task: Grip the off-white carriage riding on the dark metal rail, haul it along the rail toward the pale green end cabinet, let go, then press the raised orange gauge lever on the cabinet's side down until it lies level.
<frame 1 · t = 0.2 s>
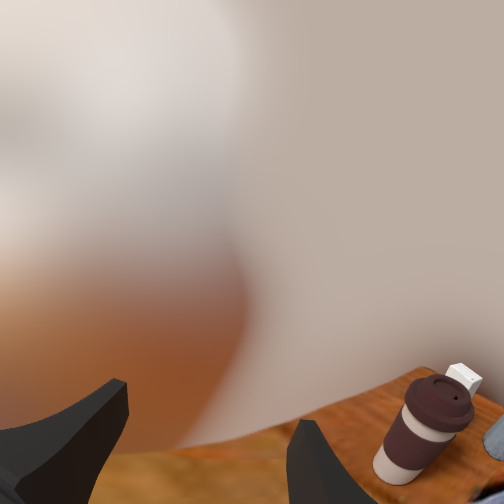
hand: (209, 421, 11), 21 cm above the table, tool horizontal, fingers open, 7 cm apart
skincare box: (433, 426, 39), on the table
coffee cup: (393, 469, 29), on the table
moka pot: (495, 446, 30), on the table
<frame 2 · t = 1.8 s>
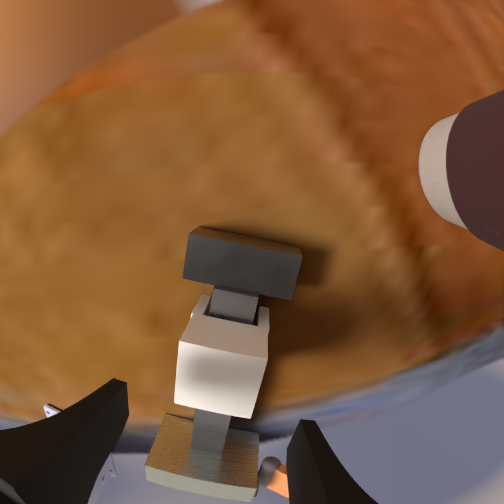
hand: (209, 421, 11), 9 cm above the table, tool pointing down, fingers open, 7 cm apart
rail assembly: (222, 366, 20), on the table
carriage: (224, 352, 16), point 3 cm above the table, slide at 0.0 cm
coffee cup: (455, 170, 16), on the table
gauge lever: (301, 489, 17), point 5 cm above the table, hinge at 30.0°
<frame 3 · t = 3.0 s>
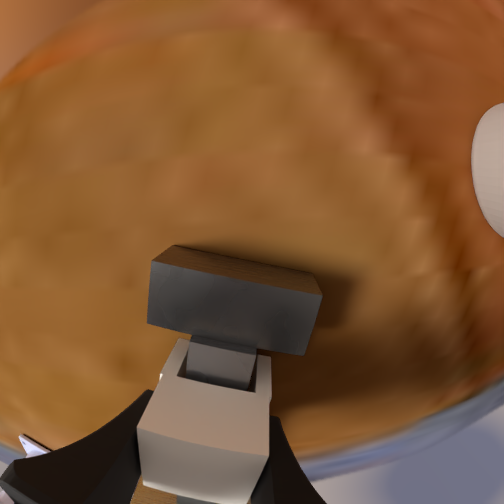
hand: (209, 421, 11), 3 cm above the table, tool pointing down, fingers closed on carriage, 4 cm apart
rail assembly: (211, 419, 15), on the table
carriage: (208, 422, 10), point 3 cm above the table, slide at 0.0 cm, touching gripper
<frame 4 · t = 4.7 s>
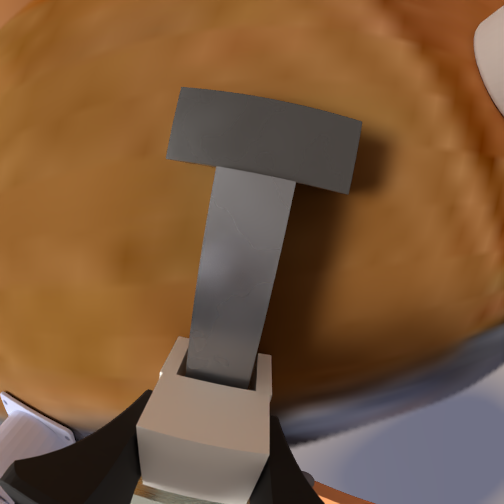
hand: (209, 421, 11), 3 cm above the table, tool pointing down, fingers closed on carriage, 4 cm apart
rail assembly: (227, 332, 13), on the table
carriage: (208, 421, 10), point 3 cm above the table, slide at 5.9 cm, touching gripper
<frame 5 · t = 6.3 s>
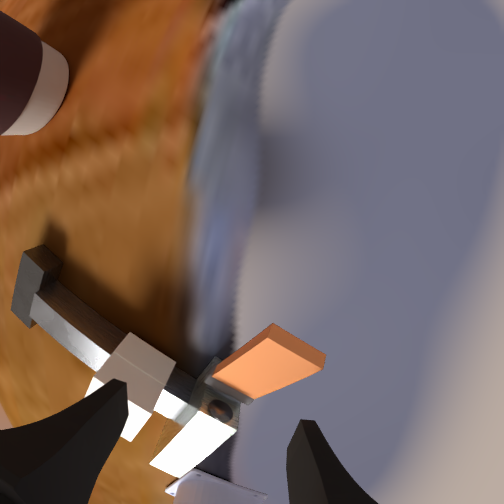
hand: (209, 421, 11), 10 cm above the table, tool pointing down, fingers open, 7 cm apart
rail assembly: (119, 343, 21), on the table
carriage: (128, 386, 18), point 3 cm above the table, slide at 5.9 cm
coffee cup: (40, 92, 17), on the table
gauge lever: (256, 371, 15), point 5 cm above the table, hinge at 30.0°
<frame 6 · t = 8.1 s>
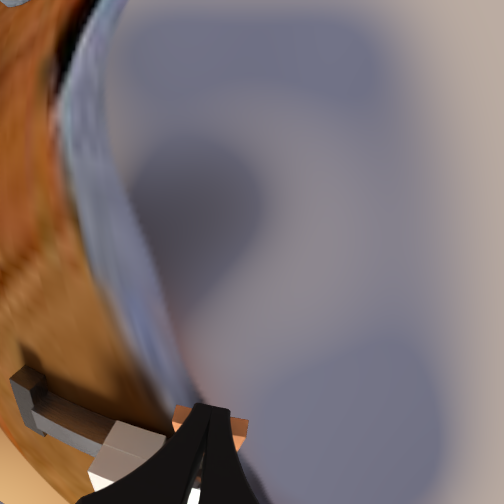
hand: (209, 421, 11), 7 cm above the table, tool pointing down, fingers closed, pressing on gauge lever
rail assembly: (117, 430, 19), on the table
carriage: (130, 468, 16), point 3 cm above the table, slide at 5.9 cm
gauge lever: (208, 441, 13), point 5 cm above the table, hinge at 27.4°, touching gripper
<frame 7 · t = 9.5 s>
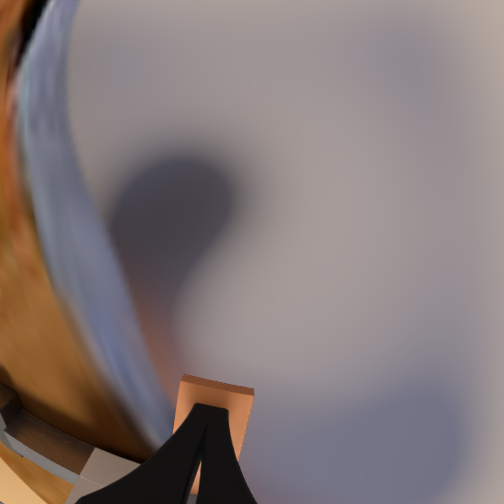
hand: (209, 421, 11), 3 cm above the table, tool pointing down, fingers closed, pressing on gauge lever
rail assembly: (97, 455, 15), on the table
carriage: (112, 501, 12), point 3 cm above the table, slide at 5.9 cm
gauge lever: (204, 455, 11), point 3 cm above the table, hinge at -16.7°, touching gripper
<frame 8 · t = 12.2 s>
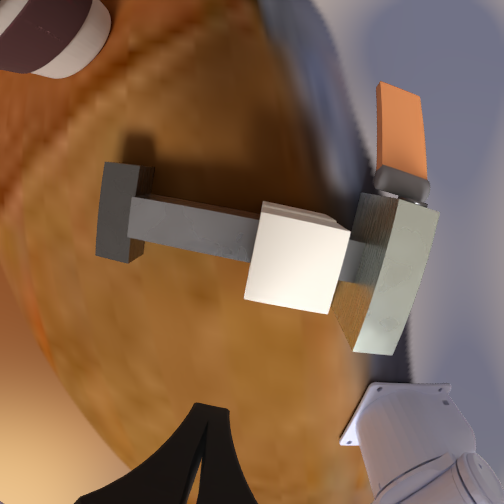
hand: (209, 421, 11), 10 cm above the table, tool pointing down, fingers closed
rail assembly: (250, 231, 19), on the table
carriage: (291, 251, 16), point 3 cm above the table, slide at 5.9 cm
coffee cup: (77, 41, 16), on the table
gauge lever: (401, 137, 15), point 2 cm above the table, hinge at -23.1°
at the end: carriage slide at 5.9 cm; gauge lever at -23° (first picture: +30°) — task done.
